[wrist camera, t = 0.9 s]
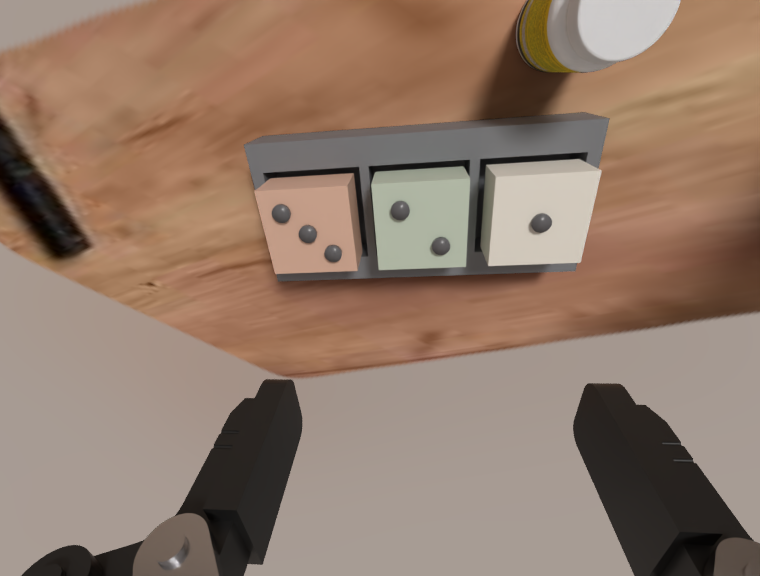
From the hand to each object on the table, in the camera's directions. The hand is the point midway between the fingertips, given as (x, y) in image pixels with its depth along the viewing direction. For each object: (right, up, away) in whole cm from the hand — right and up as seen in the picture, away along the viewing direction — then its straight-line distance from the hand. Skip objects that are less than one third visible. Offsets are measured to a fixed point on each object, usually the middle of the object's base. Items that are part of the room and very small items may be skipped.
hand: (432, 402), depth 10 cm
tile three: (-6, +8, +15) cm, 18 cm away
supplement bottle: (+9, +19, +12) cm, 24 cm away
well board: (+1, +10, +17) cm, 20 cm away
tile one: (+8, +9, +14) cm, 18 cm away
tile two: (+1, +8, +14) cm, 17 cm away
